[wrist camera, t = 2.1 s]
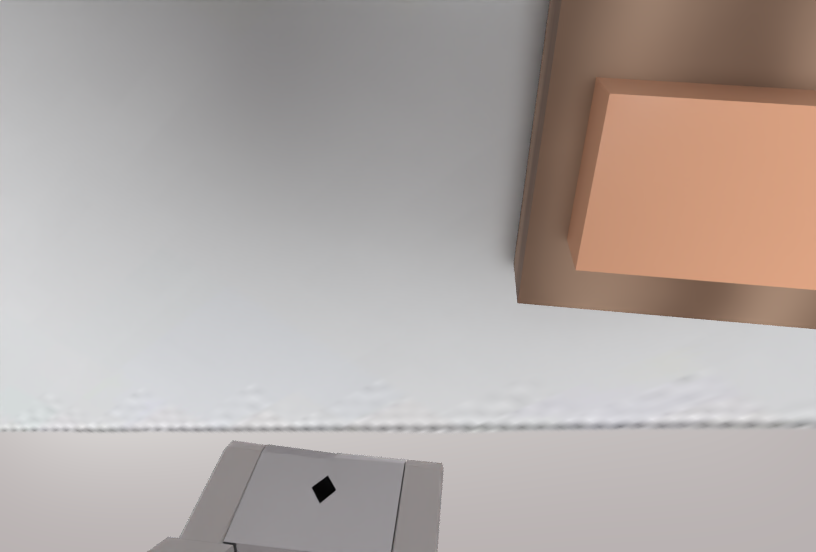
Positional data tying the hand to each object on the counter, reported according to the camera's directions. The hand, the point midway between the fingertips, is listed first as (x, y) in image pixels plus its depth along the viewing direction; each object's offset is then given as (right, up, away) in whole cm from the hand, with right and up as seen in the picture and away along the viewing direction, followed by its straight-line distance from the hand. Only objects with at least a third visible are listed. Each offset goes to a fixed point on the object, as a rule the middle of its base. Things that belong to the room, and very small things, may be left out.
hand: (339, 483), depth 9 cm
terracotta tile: (+11, +7, +13) cm, 18 cm away
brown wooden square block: (+12, +8, +16) cm, 22 cm away
